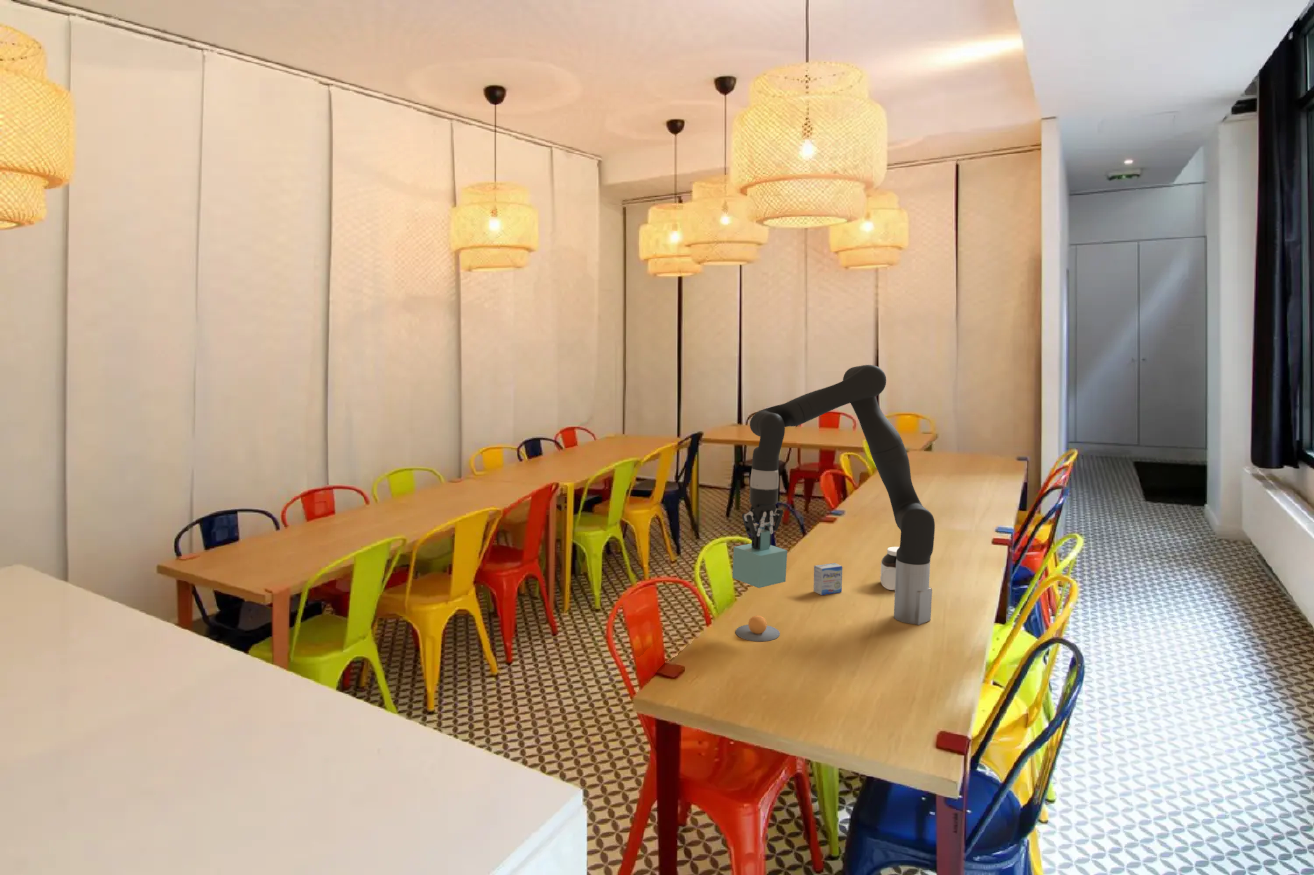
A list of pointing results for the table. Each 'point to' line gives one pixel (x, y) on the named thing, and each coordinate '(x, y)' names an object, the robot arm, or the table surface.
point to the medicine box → (828, 579)
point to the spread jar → (889, 568)
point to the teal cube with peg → (760, 563)
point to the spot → (767, 635)
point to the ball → (757, 624)
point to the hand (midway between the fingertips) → (761, 547)
